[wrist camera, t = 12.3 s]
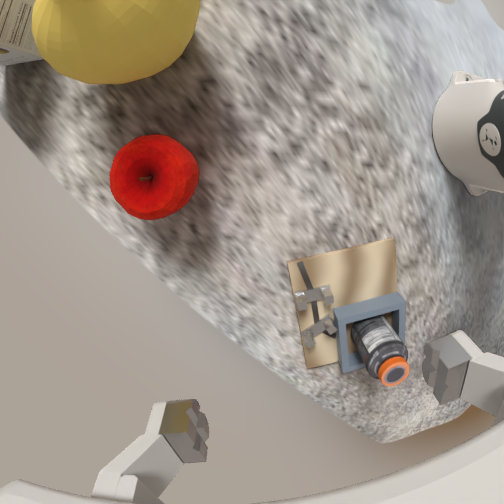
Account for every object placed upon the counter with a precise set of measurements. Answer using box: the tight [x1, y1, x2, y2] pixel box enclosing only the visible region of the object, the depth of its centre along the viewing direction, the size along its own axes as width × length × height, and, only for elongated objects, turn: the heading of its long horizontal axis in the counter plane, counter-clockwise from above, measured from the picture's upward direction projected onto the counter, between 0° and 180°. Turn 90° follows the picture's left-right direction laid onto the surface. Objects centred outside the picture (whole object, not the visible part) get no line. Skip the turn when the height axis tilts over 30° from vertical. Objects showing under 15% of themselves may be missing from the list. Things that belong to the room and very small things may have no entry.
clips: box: [294, 284, 337, 348], centre depth 42 cm, size 5×8×2 cm, turn 13°
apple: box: [110, 134, 199, 220], centre depth 32 cm, size 9×9×11 cm
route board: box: [287, 238, 397, 369], centre depth 43 cm, size 15×18×1 cm
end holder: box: [333, 292, 406, 373], centre depth 43 cm, size 10×10×3 cm
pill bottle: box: [351, 314, 410, 386], centre depth 39 cm, size 6×6×11 cm
